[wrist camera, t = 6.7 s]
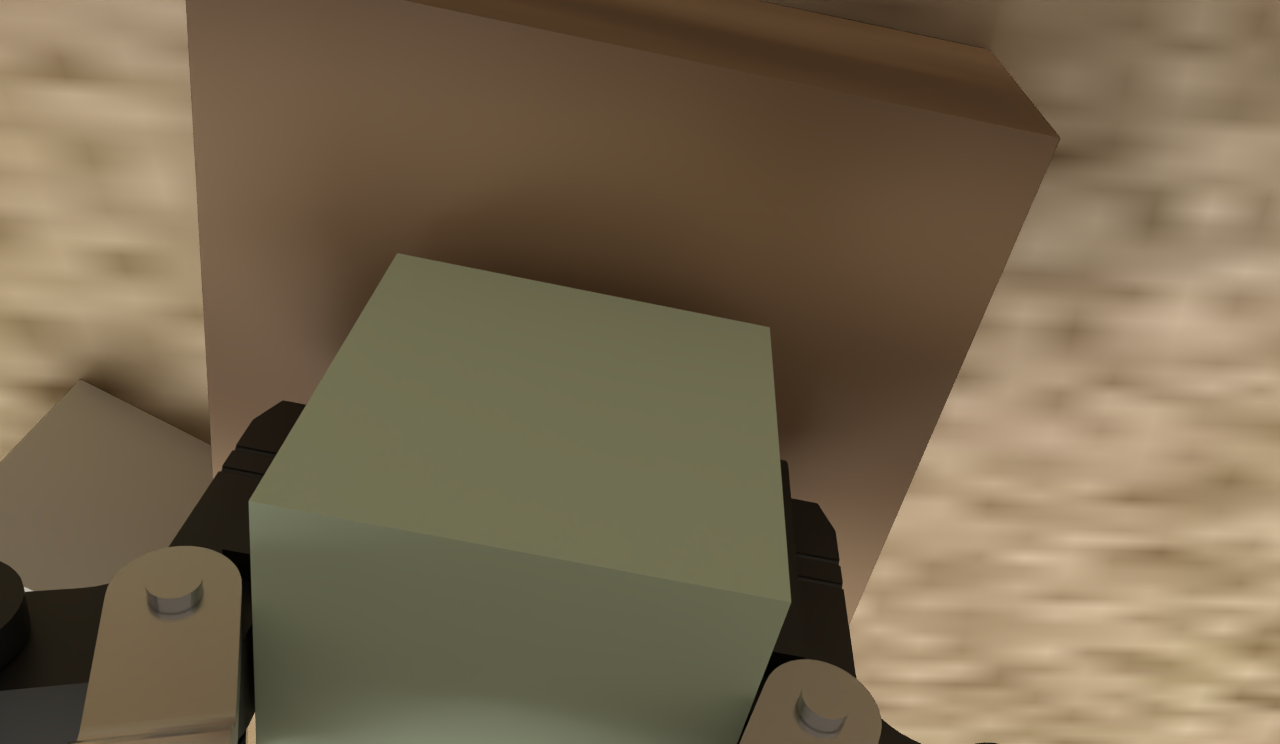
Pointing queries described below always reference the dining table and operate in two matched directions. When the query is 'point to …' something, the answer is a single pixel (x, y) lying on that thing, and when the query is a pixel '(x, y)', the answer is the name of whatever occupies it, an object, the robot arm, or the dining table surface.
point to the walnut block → (620, 196)
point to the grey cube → (95, 490)
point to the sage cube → (521, 523)
